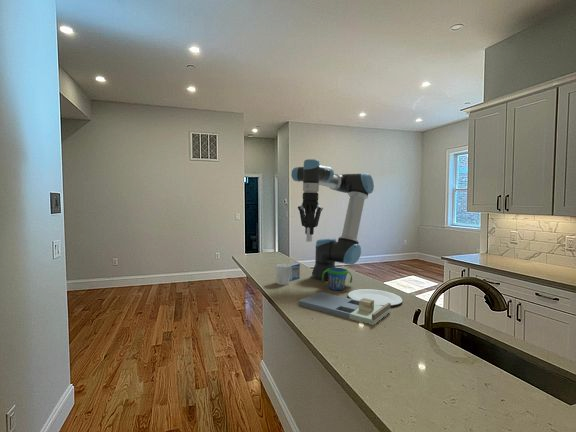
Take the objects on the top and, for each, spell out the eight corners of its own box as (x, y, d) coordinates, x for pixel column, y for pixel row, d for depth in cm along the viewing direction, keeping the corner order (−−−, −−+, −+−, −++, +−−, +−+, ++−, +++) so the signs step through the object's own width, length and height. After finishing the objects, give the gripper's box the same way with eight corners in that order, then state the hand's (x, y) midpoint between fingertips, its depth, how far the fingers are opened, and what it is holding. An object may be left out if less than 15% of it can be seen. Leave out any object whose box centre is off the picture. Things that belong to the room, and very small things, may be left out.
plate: (341, 302, 145) (341, 299, 145) (354, 289, 168) (354, 286, 168) (399, 312, 134) (399, 308, 134) (405, 297, 157) (405, 293, 157)
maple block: (363, 307, 132) (363, 297, 132) (373, 309, 130) (374, 300, 130) (358, 310, 129) (359, 300, 129) (369, 312, 126) (369, 302, 126)
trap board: (319, 295, 153) (320, 287, 153) (390, 312, 133) (390, 303, 133) (298, 305, 139) (299, 296, 138) (374, 325, 119) (374, 314, 118)
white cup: (283, 280, 180) (283, 263, 179) (293, 283, 174) (293, 265, 173) (272, 283, 174) (273, 264, 173) (282, 286, 168) (283, 267, 168)
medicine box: (291, 280, 180) (292, 265, 180) (285, 279, 183) (285, 264, 183) (299, 278, 187) (300, 263, 186) (293, 277, 189) (294, 262, 189)
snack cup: (350, 286, 171) (351, 268, 171) (352, 292, 161) (353, 272, 160) (321, 285, 173) (322, 266, 172) (321, 290, 162) (322, 270, 162)
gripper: (294, 191, 153) (293, 240, 154) (318, 192, 146) (317, 243, 147) (303, 192, 159) (301, 239, 161) (326, 192, 152) (324, 241, 153)
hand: (309, 241), depth 154 cm, fingers closed
